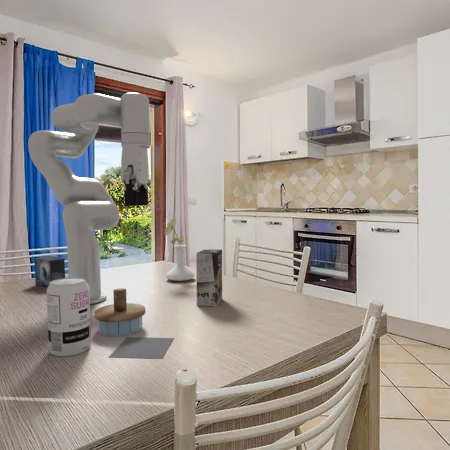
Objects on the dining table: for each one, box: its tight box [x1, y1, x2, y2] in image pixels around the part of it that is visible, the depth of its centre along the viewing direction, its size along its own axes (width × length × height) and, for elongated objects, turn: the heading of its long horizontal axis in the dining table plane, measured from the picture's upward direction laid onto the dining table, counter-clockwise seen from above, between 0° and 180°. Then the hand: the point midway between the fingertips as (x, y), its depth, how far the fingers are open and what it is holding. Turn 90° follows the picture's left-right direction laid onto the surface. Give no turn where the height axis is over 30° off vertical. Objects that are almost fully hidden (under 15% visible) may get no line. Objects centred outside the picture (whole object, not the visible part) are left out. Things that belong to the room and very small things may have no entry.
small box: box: [33, 255, 66, 289], centre depth 140 cm, size 11×6×10 cm, turn 56°
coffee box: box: [195, 249, 223, 307], centre depth 115 cm, size 9×6×16 cm
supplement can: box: [46, 277, 92, 357], centre depth 79 cm, size 8×8×15 cm
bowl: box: [97, 316, 143, 337], centre depth 91 cm, size 10×10×4 cm
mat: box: [108, 336, 175, 360], centre depth 80 cm, size 11×11×1 cm
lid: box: [94, 287, 146, 322], centre depth 91 cm, size 12×12×6 cm
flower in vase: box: [163, 217, 196, 282], centre depth 147 cm, size 13×11×25 cm
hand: (137, 205), depth 101 cm, fingers open, 9 cm apart
